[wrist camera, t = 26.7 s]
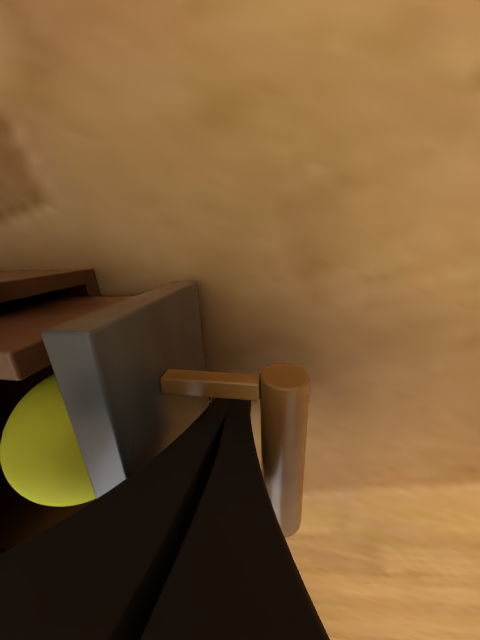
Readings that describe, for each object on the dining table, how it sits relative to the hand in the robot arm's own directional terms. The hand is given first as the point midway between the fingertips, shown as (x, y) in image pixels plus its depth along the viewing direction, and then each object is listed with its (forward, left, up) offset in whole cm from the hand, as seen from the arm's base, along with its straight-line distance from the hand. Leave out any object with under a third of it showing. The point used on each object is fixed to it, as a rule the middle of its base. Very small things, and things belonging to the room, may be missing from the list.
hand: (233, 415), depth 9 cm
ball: (0, -7, -1) cm, 7 cm away
